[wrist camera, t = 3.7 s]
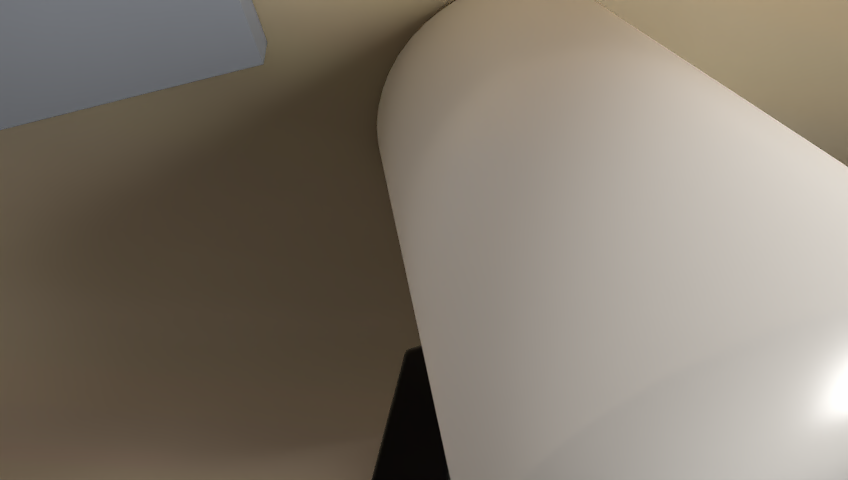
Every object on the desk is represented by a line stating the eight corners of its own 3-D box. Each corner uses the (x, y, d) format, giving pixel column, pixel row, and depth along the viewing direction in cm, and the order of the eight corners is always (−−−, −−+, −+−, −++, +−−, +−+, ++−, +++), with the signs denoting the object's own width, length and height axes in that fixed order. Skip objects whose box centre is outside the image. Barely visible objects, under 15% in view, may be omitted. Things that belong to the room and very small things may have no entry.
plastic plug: (643, -52, 7) (1267, 196, 3) (617, 444, 15) (764, 740, 10) (343, 22, 7) (415, 419, 2) (470, 482, 15) (547, 799, 10)
